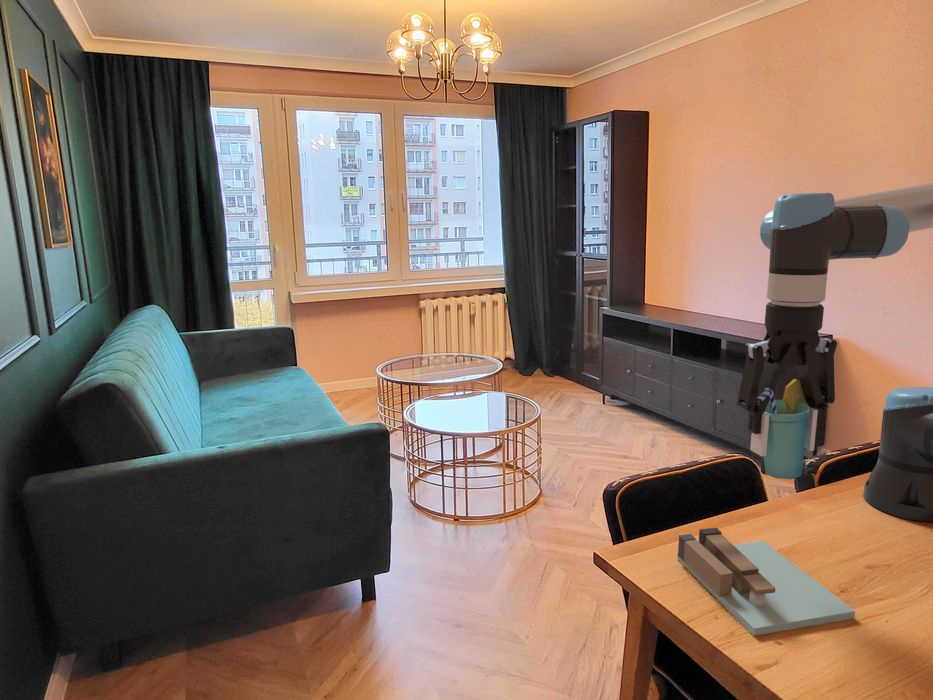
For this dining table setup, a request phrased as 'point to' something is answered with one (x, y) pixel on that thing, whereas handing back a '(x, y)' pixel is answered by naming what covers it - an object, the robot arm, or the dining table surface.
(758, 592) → the leg
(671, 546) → the dining table surface
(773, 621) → the stool seat
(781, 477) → the cup
